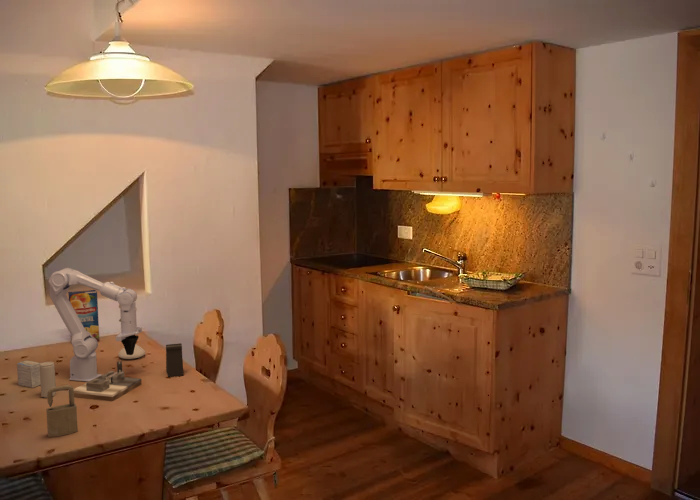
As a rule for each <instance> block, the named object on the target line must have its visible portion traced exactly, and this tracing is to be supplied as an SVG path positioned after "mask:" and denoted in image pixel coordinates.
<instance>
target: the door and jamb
mask: <svg viewBox="0 0 700 500" xmlns="http://www.w3.org/2000/svg"><path fill="white" fill-rule="evenodd" d="M113 373H115V371H114V370H113V371H112V370H110V371H108V372H106V373H104V374H102V375H101V376H99V377H97V378H95V379H93V380H91V381H89V382H85V383H83V384H82V385H80V386H77V387H75V388H73V389H74V398H78V399H87V400H97V401H107V402H113V401H115V400H117V399H118V398H120V397H122V396H124V395H126V394H127V393H129V392H131V391H132V390H134V389H136V388H138V387H139V386H141V385H142V378H141V377H130V376H125V371H124V372H120V373H118V374H116V375H114V376H112V377H113V382H111V383H109V380H106V377H107V376H109V375H111V374H113Z"/></svg>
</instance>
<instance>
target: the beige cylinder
mask: <svg viewBox="0 0 700 500" xmlns="http://www.w3.org/2000/svg"><path fill="white" fill-rule="evenodd" d="M40 363H41V364H40V382H41V385H40V395H41V397H42V398H45V399H46V398H47V393H48V390H49V389H50V388H53V387H57V386H56V371H55V369H56V367H55V362H54V361H45V362H40ZM56 394H57V391H56V392H53V393H52V395H53V397H55V396H56Z"/></svg>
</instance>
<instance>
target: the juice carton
mask: <svg viewBox="0 0 700 500" xmlns="http://www.w3.org/2000/svg"><path fill="white" fill-rule="evenodd" d="M67 294H68V299H69V301H70V303H71V305H72V307H73V308H74V310H75V312H76V314H77V316H78V318H79V319H80V321H81V323H82V325H83V327H84V328H85V330H86V331H88V332H89V333H90V334H91V335H92V337H94V338H95V339H96V340H97V342H100V330H99V329H100V327H99V325H100V323H99V306H98V305H99V304H98V292H97V290H95V289H88V290H79V291H78V290H77V291H76V290H75V291H67ZM70 342H72V336H71V335H70Z"/></svg>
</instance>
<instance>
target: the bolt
mask: <svg viewBox="0 0 700 500" xmlns="http://www.w3.org/2000/svg"><path fill="white" fill-rule="evenodd" d="M120 372H124V373H125V371H124V370H123V362H122V360H119V361H116V371H114V373H113V374H111V375H109V376H107V377H106V380H109V383H111V382H113V377H112V376H114V375H116V374H118V373H120Z"/></svg>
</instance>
